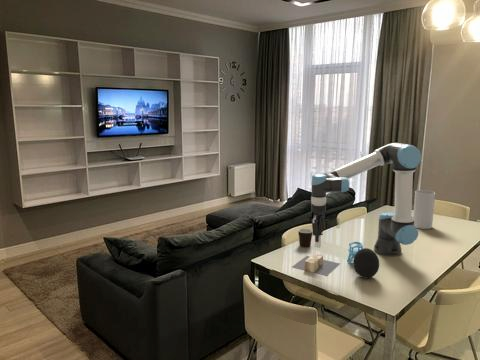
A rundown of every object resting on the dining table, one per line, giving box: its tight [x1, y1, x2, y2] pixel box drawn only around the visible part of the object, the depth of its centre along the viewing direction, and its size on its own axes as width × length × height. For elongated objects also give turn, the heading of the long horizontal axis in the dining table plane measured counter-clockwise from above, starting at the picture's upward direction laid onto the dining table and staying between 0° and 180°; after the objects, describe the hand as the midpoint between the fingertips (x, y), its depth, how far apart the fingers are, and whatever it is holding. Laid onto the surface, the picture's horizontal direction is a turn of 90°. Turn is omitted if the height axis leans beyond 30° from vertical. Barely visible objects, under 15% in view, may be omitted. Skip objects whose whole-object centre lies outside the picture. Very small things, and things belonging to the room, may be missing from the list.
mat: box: [291, 255, 341, 277], centre depth 209 cm, size 20×19×1 cm
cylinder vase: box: [412, 189, 436, 230], centre depth 272 cm, size 12×12×25 cm
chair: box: [346, 241, 364, 265], centre depth 212 cm, size 8×8×12 cm
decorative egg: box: [352, 247, 380, 279], centre depth 194 cm, size 12×12×15 cm
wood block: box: [305, 253, 324, 273], centre depth 206 cm, size 5×5×12 cm
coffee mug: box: [297, 228, 313, 248], centre depth 239 cm, size 12×9×10 cm
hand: (317, 246), depth 208 cm, fingers closed
